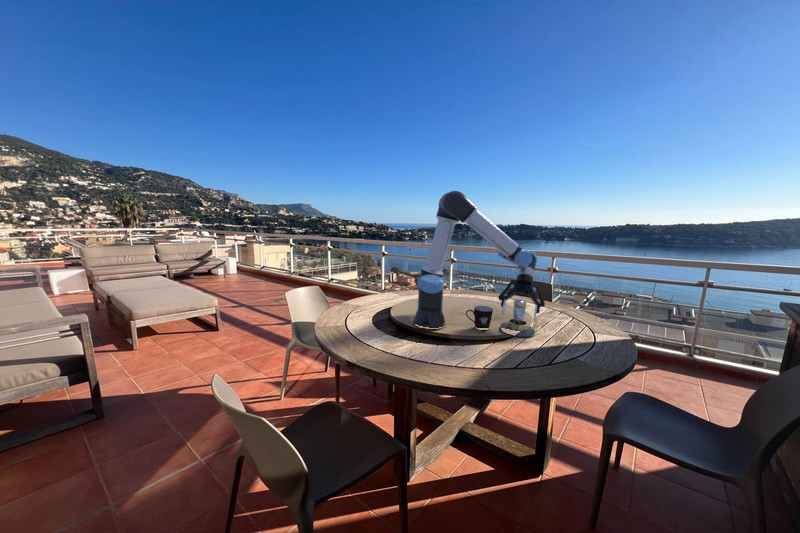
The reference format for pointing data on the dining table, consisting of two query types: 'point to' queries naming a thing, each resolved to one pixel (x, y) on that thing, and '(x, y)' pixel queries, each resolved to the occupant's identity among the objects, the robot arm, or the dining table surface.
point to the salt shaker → (519, 312)
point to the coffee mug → (482, 316)
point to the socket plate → (522, 335)
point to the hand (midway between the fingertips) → (518, 315)
